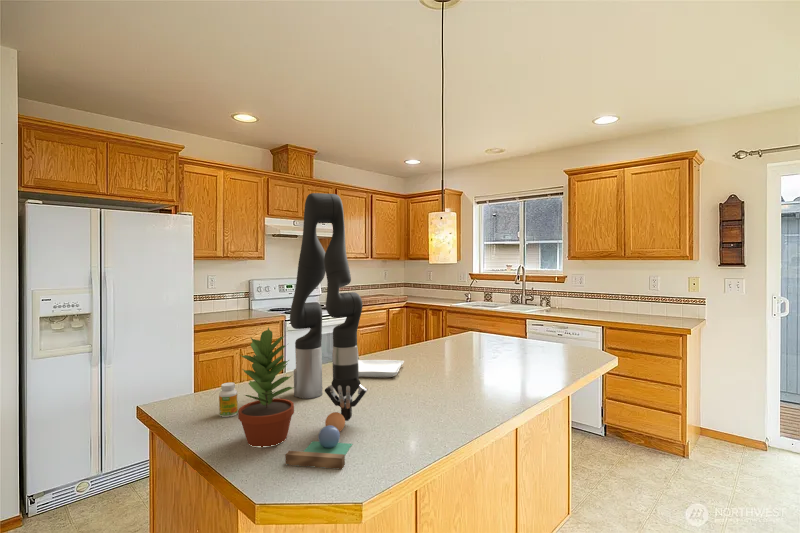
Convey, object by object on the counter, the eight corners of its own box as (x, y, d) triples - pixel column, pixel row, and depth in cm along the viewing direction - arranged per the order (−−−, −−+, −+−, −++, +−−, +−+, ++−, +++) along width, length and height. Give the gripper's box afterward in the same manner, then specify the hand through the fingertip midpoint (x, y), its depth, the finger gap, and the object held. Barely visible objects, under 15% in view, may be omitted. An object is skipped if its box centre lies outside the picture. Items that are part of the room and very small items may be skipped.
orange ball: (332, 415, 124) (333, 435, 121) (321, 413, 120) (321, 433, 117) (348, 411, 122) (349, 431, 119) (337, 409, 118) (338, 430, 115)
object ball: (322, 444, 113) (314, 450, 107) (323, 422, 113) (315, 427, 108) (342, 445, 112) (335, 451, 106) (343, 423, 113) (336, 428, 107)
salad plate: (358, 366, 195) (358, 358, 194) (404, 367, 192) (404, 359, 192) (346, 379, 174) (346, 371, 174) (397, 380, 171) (397, 372, 171)
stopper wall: (285, 464, 101) (285, 454, 101) (289, 460, 103) (289, 450, 103) (342, 469, 98) (341, 458, 98) (344, 465, 100) (344, 454, 100)
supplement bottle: (220, 418, 131) (219, 387, 131) (218, 413, 136) (218, 383, 136) (238, 415, 134) (238, 384, 134) (236, 410, 139) (236, 380, 138)
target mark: (295, 461, 103) (295, 460, 103) (312, 441, 113) (312, 441, 113) (338, 464, 101) (338, 463, 101) (352, 444, 111) (352, 443, 111)
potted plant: (240, 457, 105) (237, 336, 105) (237, 434, 119) (234, 327, 119) (301, 445, 111) (298, 331, 111) (291, 425, 125) (289, 323, 125)
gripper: (319, 363, 122) (320, 423, 122) (363, 364, 119) (365, 426, 120) (328, 357, 129) (329, 414, 130) (370, 358, 127) (371, 416, 127)
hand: (346, 419), depth 125 cm, fingers closed
